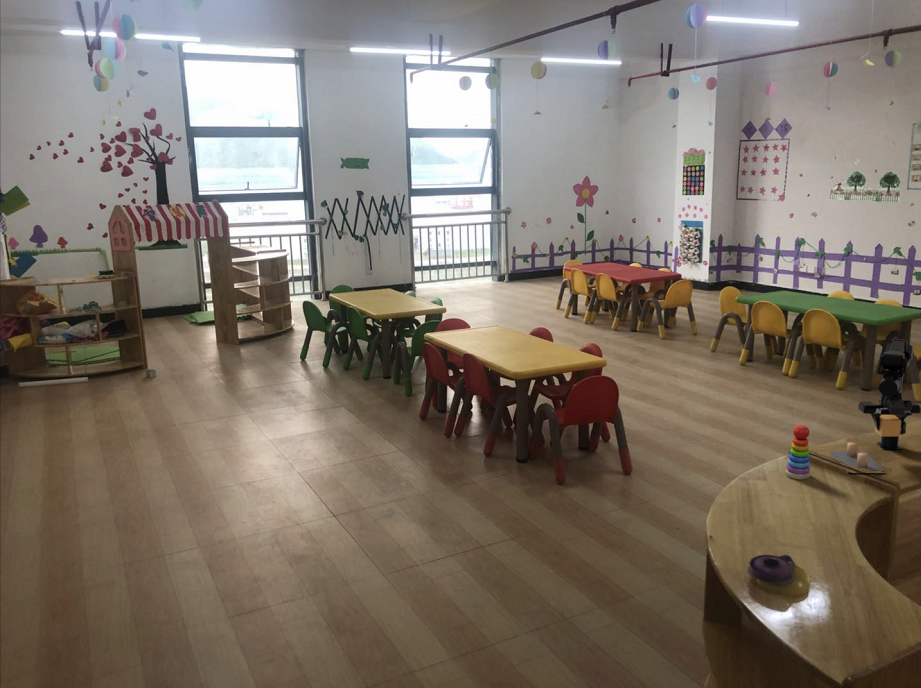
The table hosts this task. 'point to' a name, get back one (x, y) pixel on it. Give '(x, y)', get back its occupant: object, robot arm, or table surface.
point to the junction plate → (856, 458)
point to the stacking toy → (799, 454)
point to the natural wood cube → (889, 425)
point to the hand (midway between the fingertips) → (887, 430)
